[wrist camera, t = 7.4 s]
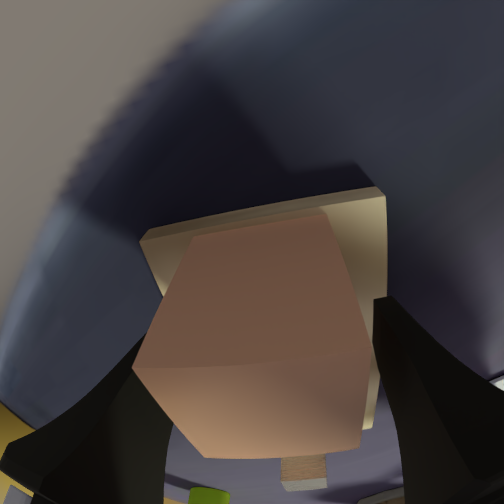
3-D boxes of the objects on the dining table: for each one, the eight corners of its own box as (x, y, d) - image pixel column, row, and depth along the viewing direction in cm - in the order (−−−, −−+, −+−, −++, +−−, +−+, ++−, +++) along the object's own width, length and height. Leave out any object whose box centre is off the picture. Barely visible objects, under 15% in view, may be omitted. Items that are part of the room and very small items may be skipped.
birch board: (369, 415, 20) (371, 427, 19) (245, 429, 22) (243, 442, 21) (376, 186, 12) (385, 196, 11) (148, 229, 13) (138, 241, 12)
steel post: (323, 426, 19) (327, 487, 14) (287, 430, 19) (286, 491, 15) (321, 409, 18) (326, 477, 13) (282, 414, 18) (280, 481, 14)
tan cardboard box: (336, 318, 14) (358, 448, 8) (227, 332, 14) (204, 457, 9) (326, 213, 11) (372, 347, 5) (193, 236, 12) (131, 367, 6)
